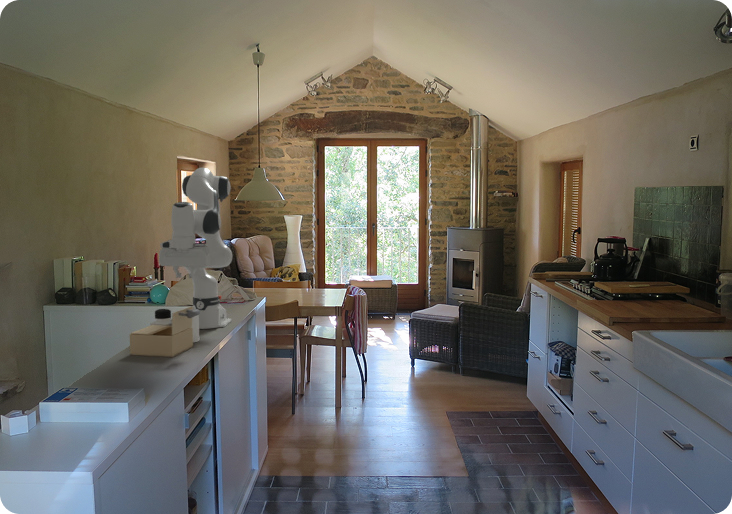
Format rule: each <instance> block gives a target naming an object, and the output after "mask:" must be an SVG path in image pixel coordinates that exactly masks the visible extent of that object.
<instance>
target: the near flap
mask: <svg viewBox="0 0 732 514" xmlns="http://www.w3.org/2000/svg"><path fill="white" fill-rule="evenodd" d="M193 306H194V305H191V306H188V307H185V308H182V309H180V310H178V311H175V312H171V320H172V335H174V334H177V333H179V332H181V331H184V330H186V329H188V328H190V327H192V317H194V316H197V315H199V314H200V310H198V309H196V310H192V308H193Z"/></svg>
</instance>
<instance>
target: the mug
mask: <svg viewBox="0 0 732 514" xmlns="http://www.w3.org/2000/svg"><path fill="white" fill-rule="evenodd" d="M190 328H192V329H193V344H194V343H197V342H199V341H200V340H201V339H200V329H199V315H197V316H194V317H192V327H190Z"/></svg>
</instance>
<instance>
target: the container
mask: <svg viewBox="0 0 732 514" xmlns="http://www.w3.org/2000/svg"><path fill="white" fill-rule="evenodd" d="M151 325H164V326H168V325H169V326H171V327H172V310H171V309H169V308H158V309H157V310H155V311H154V321H152V322H150V324H149V326H151Z"/></svg>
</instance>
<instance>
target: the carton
mask: <svg viewBox="0 0 732 514" xmlns="http://www.w3.org/2000/svg"><path fill="white" fill-rule="evenodd" d="M193 347H194V343H193V329H192V328H188V329H186V330H184V331H181V332H179V333H177V334H174V335H172V327H171V326H169V325H168V326H164V325H151V326H150V325H149V326H146V327H143V328H141V329H138V330H135V331H132V332H130V334H129V354H130V356H132V355H133V356H147V357H148V356H149V357H165V358H173V357H174V358H175V357H176V356H178V355H180V354H182V353H184V352H186V351H188V350H190V349H192V348H193Z"/></svg>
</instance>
